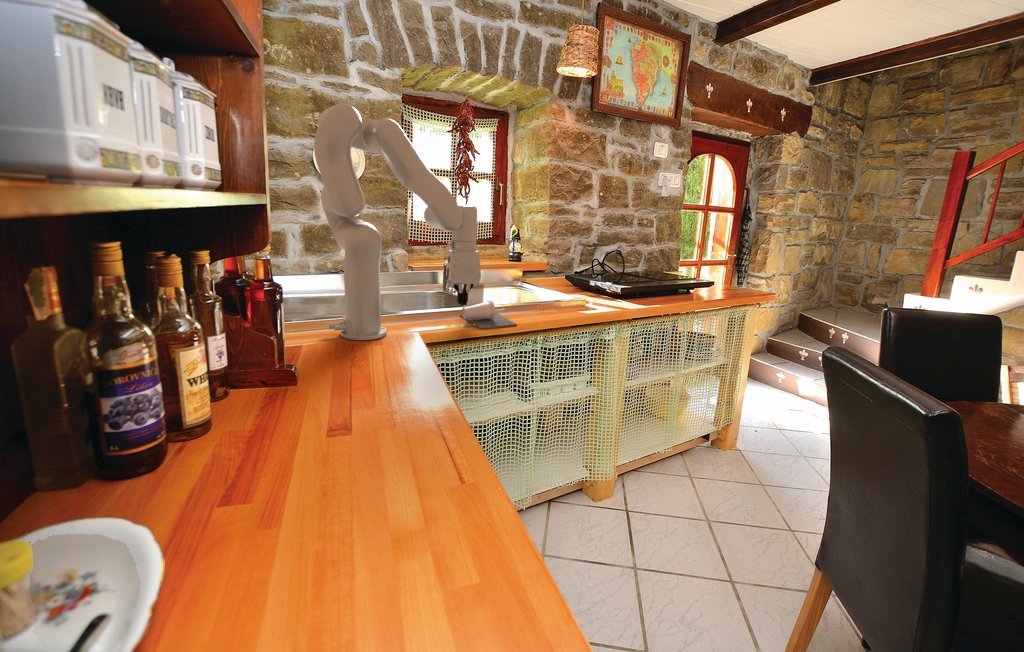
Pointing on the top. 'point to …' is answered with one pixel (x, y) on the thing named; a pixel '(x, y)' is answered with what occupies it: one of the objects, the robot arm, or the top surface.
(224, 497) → the top surface
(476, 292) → the canister
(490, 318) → the smoothie
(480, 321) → the mat
